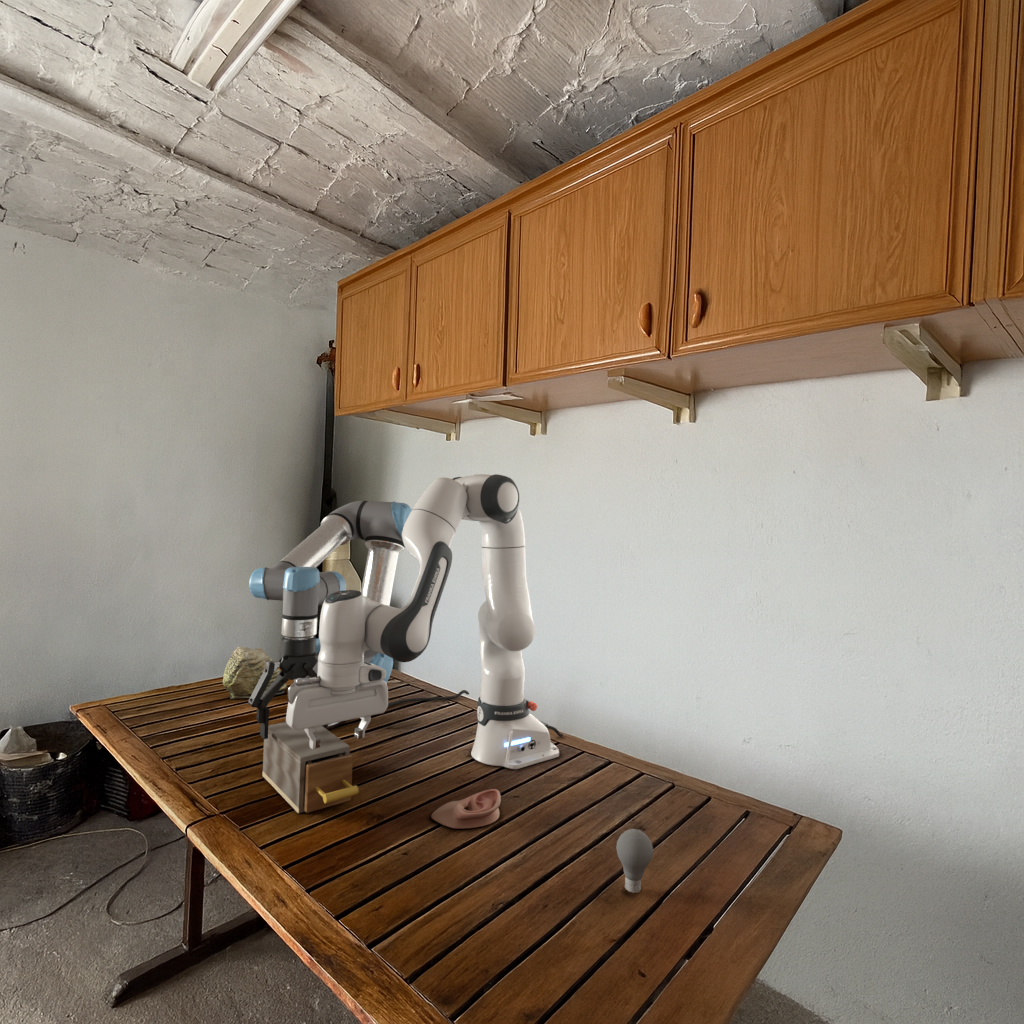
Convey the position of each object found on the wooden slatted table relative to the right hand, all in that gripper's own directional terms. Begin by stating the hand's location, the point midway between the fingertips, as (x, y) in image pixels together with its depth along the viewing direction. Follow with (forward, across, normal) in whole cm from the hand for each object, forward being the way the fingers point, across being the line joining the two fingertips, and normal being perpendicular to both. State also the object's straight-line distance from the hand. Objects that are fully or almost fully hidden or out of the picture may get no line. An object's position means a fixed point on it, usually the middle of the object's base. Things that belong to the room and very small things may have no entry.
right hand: (337, 742), depth 126 cm
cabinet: (+15, 0, +16) cm, 22 cm away
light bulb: (+15, +29, -51) cm, 61 cm away
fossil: (+15, +12, +84) cm, 87 cm away
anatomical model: (+15, +21, -15) cm, 30 cm away
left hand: (+4, 0, +21) cm, 22 cm away
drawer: (+14, 0, +9) cm, 17 cm away
